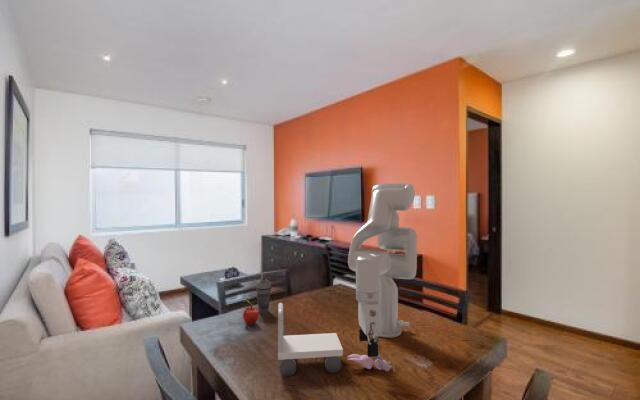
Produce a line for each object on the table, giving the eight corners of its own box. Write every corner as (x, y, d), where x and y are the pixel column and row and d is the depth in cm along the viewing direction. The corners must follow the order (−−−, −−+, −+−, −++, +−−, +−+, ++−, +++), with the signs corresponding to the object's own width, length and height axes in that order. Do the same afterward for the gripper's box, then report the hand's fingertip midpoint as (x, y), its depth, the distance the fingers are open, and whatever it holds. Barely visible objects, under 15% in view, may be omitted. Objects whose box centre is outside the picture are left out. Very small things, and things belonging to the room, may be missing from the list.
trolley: (335, 352, 110) (336, 300, 110) (343, 372, 98) (343, 313, 98) (278, 356, 108) (278, 302, 108) (277, 376, 95) (278, 316, 95)
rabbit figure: (392, 368, 103) (346, 358, 104) (395, 351, 103) (349, 341, 104) (394, 379, 96) (345, 368, 98) (397, 361, 96) (349, 350, 98)
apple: (261, 321, 138) (261, 298, 138) (256, 327, 131) (256, 303, 131) (243, 320, 139) (243, 297, 138) (238, 327, 132) (238, 303, 132)
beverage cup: (268, 315, 145) (268, 271, 145) (253, 313, 146) (253, 270, 146) (273, 309, 152) (273, 268, 152) (259, 308, 154) (259, 267, 153)
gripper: (388, 304, 92) (389, 362, 92) (371, 285, 109) (371, 334, 110) (363, 306, 91) (364, 364, 91) (350, 286, 108) (350, 336, 109)
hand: (368, 348), depth 100 cm, fingers open, 9 cm apart
